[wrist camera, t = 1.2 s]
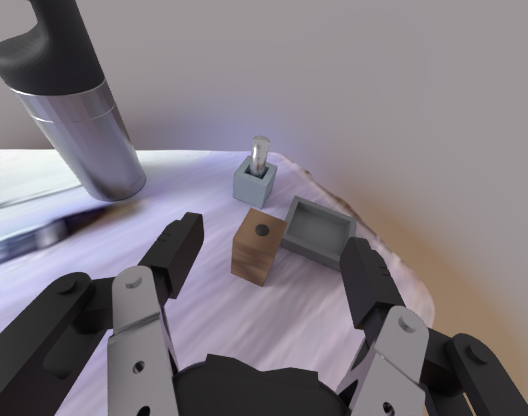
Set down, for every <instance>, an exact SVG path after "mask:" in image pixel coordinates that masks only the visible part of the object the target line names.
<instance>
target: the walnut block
mask: <svg viewBox="0 0 528 416" xmlns="http://www.w3.org/2000/svg"><path fill="white" fill-rule="evenodd" d="M287 224H288V222H285V221H283V220H280V219H278V218H275V217H273V216H270V215H268V214H265V213H263V212H261V211H258V210H256V209H253V208H251V209H250V210H249V212H248V214H247V215H246V217H245V219H244V221H243V222H242V224H241V226H240V227H239V229H238V231H237V233H236V234H235V236H234V238H233V247H232V264H231V273H232V274H235V275H237V276H239V277H241V278H243V279H246V280H248V281H250V282H252V283H254V284H257V285H259V286H261V287H262V286H263V283H264V281H265V278H266V276H267V274H268V271H269V269H270V267H271V264H272V262H273V260H274V257H275V255H276V252H277V250H278V247H279V245H280V242H281V240H282V237H283V234H284V232H285V229H286V227H287Z"/></svg>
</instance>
